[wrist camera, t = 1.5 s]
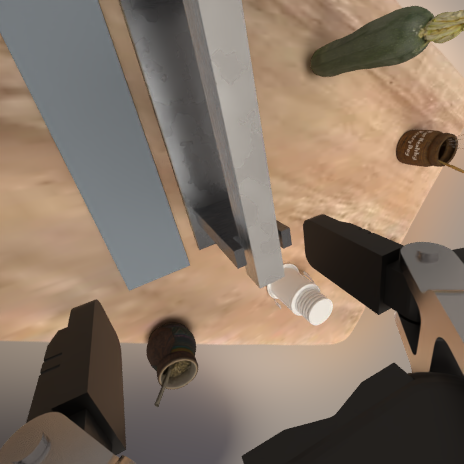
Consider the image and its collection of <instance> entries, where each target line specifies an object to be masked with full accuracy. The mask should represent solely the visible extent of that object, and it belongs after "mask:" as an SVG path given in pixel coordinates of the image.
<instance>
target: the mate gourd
mask: <svg viewBox="0 0 464 464" xmlns="http://www.w3.org/2000/svg"><path fill="white" fill-rule="evenodd" d="M195 352H196V342H195V339H194V336H193V334H192V333H191V332H190V331H189V329H188V328H187V327H186V326H184V325H182V324H179V323H168V324H165V325H162V326H160V327H158V328H157V329H156V330H155V331H154V332H153V333H152V334H151V336H150V337H149V342H148V345H147V358H148V360H149V362H150V364H151V366H152V367H153V368H154V369H155V370H156V371H157V377H158V382H159V384H160V385H161V386H162V388H161V390H160V393H159V395H158V398H157V400H156V402H155V406H157V407H158V406H159V403H160V400H161V398H162V395H163V392H164V389H165V388H166V389H178V388H181V387H183V386H185V385H187V384H188V383H189V382H191V381H192V380H193V379H194V378H195V376H196V374H197V372H198V364H197V361H196V358H195Z"/></svg>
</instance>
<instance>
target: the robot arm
mask: <svg viewBox="0 0 464 464" xmlns="http://www.w3.org/2000/svg"><path fill="white" fill-rule="evenodd" d="M303 231H304V243H305V254H306V258H307V260H308V262H309V264H310V265H311V266H312V267H313V268H314V269H315V270H317V271H318V272H320V273H321V274H322V275H324V276H325V277H327V278H328V279H329V280H331V281H332V282H333V283H335V284H336V285H338V286H339V287H340V288H342V289H343V290H345V291H346V292H347V293H349V294H350V295H352V296H353V297H354V298H356V299H357V300H358V301H360V302H361V303H363V304H364V305H365V306H367V307H368V308H370V309H371V310H372V311H374V312H375V313H377V314H378V315H379V314H381V313H383V312H385V311H387V310H389V309H390V308H392V309H393V310H395V321H396V324H397V327H398V330H399V333H400V335H401V339H402V341H403V344H404V347H405V350H406V353H407V355H408V359H409V362H410V365H411V369H412V373H408V374H407V373H406V372H405V371H403V370H402V369H401V368H400V367H398V365H396V364H395V363H392V364H391V365H389V366H388V367H386V368H384V369H383V370H381V371H380V372H378V373H376V374H375V375H373V376H371V377H370V378H368V379H366V380H365V381H363V382H362V383H361V384H360V385H359V386H358V387H357V389H356V390H355V391H354V392H353V394H352V395H351V396H350V397H349V398H348V400H347V401H346V402H345V403H344V405H343V406H342V407H341V408H340V410H339V411H338V412H337V413H336V414H335V415H334V416H332V417H330V418H327V419H323V420H319V421H316V422H312V423H308V424H304V425H301V426H297V427H293V428H289V429H286V430H283V431H282V432H280V433H279V434H277V435H275V436H274V437H272V438H270V439H269V440H267V441H265V442H264V443H262V444H261V445H259V446H257V447H256V448H254V449H252V450H251V451H249V452H247V453H246V454H244V455H243V456H242V459H243V462H244V464H464V248H460V249H455V250H451V249H449V248H447V247H445V246H442V245H439V244H435V243H429V242H415V243H410V244H407V245H405V246H403V245H401V244H399V243H396V242H394V241H392V240H389V239H387V238H384V237H382V236H380V235H377V234H375V233H371V232H370V231H368V230H366V229H362V228H361V227H358V226H356V225H354V224H351V223H346V222H341V221H338V220H335V219H333V218H331V217H329V216H326V215H324V214H321V215H318V216H316V217H313V218H310V219H308V220H305V221H304V224H303ZM125 438H126V437H125V418H124V397H123V378H122V358H121V348H120V343H119V339H118V337H117V334H116V332H115V330H114V328H113V326H112V324H111V323H110V321H109V319H108V317H107V315H106V313H105V311H104V309H103V307H102V305H101V303H100V302H99V301H98V300H93V301H91V302H88V303H86V304H83V305H80V306H78V307H75V308H73V309H72V310H71V313H70V318H69V323H68V327H67V328H64V329H62V330H59V331H58V332H57V333H56V335H55V336H54V338H53V339H52V340H51V342H50V343H49V345H48V346H47V350H46V354H45V357H44V363H43V364H42V368H41V375H40V376H39V379H38V382H37V386H36V390H35V393H34V397H33V400H32V404H31V408H30V411H29V415H28V419H27V422H26V424H25V425H24V426H22V427H21V428H20V429H19V430H17V431H16V432H15V433H14V434H13V435H12V436H11V437H10V438H9V439H8V441H7V442H6V443H5V444H4V445H3V447H2V448H1V449H0V464H136V463H135V462H133V461H132V460H131V459H129V458H128V457H126V456H123V455H122V456H121V457H120V458H118V457H117V456H115V455H117V454H119V453H121V452H123V451H124V450H126V439H125Z"/></svg>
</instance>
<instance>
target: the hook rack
mask: <svg viewBox="0 0 464 464" xmlns="http://www.w3.org/2000/svg"><path fill="white" fill-rule="evenodd" d="M119 3H120V6H121V9H122V12H123V15H124V18H125V21H126V25H127V28H128V31H129V34H130V37H131V40H132V43H133V46H134V50H135V53H136V56H137V59H138V62H139V65H140V68H141V71H142V74H143V78H144V81H145V84H146V87H147V90H148V93H149V96H150V99H151V103H152V106H153V109H154V112H155V115H156V118H157V121H158V124H159V128H160V131H161V134H162V137H163V140H164V143H165V146H166V149H167V153H168V156H169V159H170V162H171V165H172V168H173V171H174V174H175V177H176V181H177V184H178V187H179V190H180V193H181V196H182V199H183V202H184V206H185V209H186V212H187V215H188V218H189V221H190V224H191V227H192V231H193V234H194V237H195V240H196V243H197V246H198V248H199V249H200V250H201V249H203V248H206V247H208V246H211V245H213V244H217V245H218V246H219V248H220V249H221V250H222V251H223V252H224V253H225V254H226V256H227V257H228V258H229V259H230V260H231V261H232V262H233V264H234V265H235V266H236V267H237V268H241V267H243V266H245V265H247V262H246V257H245V253H244V249H243V247H242V246H241V245H240V242H239V238H238V233H237V229H236V225H235V221H234V216H233V212H232V208H231V204H230V199H229V195H228V191H227V187H226V183H225V178H224V174H223V170H222V166H221V161H220V157H219V153H218V149H217V144H216V140H215V136H214V132H213V127H212V123H211V119H210V115H209V110H208V106H207V102H206V98H205V93H204V89H203V85H202V81H201V76H200V72H199V68H198V64H197V59H196V55H195V51H194V47H193V42H192V38H191V34H190V30H189V25H188V21H187V17H186V13H185V9H184V4H183V0H119ZM276 223H277V229H278V235H279V242H280V246H281V247H282V248H283V249H284V248H286V247H288V246H290V245H292V243H291V235H290V228H289V227H287V226H285V225H284V224H282V223H280V222H279V221H277V220H276Z"/></svg>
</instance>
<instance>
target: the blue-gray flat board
mask: <svg viewBox="0 0 464 464" xmlns="http://www.w3.org/2000/svg"><path fill="white" fill-rule="evenodd" d="M0 33H1V35H2V37H3V39H4V41H5V43H6V45H7V47H8V49H9V51H10V53H11V55H12V57H13V59H14V61H15V63H16V65H17V67H18V69H19V71H20V73H21V75H22V77H23V79H24V81H25V83H26V85H27V87H28V89H29V91H30V93H31V95H32V97H33V99H34V101H35V103H36V105H37V107H38V109H39V111H40V113H41V115H42V117H43V119H44V121H45V123H46V125H47V127H48V129H49V131H50V133H51V135H52V137H53V139H54V141H55V143H56V145H57V147H58V149H59V151H60V153H61V155H62V157H63V159H64V161H65V163H66V165H67V167H68V169H69V171H70V173H71V175H72V177H73V179H74V181H75V183H76V185H77V187H78V189H79V191H80V193H81V195H82V197H83V199H84V201H85V203H86V205H87V207H88V209H89V211H90V213H91V215H92V217H93V219H94V221H95V223H96V225H97V227H98V229H99V231H100V233H101V235H102V237H103V239H104V241H105V243H106V245H107V247H108V249H109V251H110V253H111V255H112V257H113V259H114V261H115V263H116V265H117V267H118V269H119V271H120V273H121V275H122V277H123V279H124V281H125V283H126V285H127V287H128V289H129V290H132V289H134V288H137V287H139V286H141V285H144V284H146V283H149V282H151V281H153V280H156V279H158V278H161V277H163V276H165V275H168V274H170V273H173V272H175V271H177V270H180V269H182V268H185V267H187V266H189V265H190V264H189V261H188V258H187V255H186V252H185V249H184V247H183V244H182V241H181V238H180V235H179V232H178V229H177V226H176V224H175V221H174V218H173V215H172V212H171V209H170V206H169V204H168V201H167V198H166V195H165V192H164V189H163V186H162V183H161V181H160V178H159V175H158V172H157V169H156V166H155V163H154V160H153V158H152V155H151V152H150V149H149V146H148V143H147V140H146V137H145V135H144V132H143V129H142V126H141V123H140V120H139V117H138V115H137V112H136V109H135V106H134V103H133V100H132V97H131V94H130V92H129V89H128V86H127V83H126V80H125V77H124V74H123V71H122V69H121V66H120V63H119V60H118V57H117V54H116V51H115V48H114V46H113V43H112V40H111V37H110V34H109V31H108V28H107V26H106V23H105V20H104V17H103V14H102V11H101V8H100V5H99V3H98V0H0Z"/></svg>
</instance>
